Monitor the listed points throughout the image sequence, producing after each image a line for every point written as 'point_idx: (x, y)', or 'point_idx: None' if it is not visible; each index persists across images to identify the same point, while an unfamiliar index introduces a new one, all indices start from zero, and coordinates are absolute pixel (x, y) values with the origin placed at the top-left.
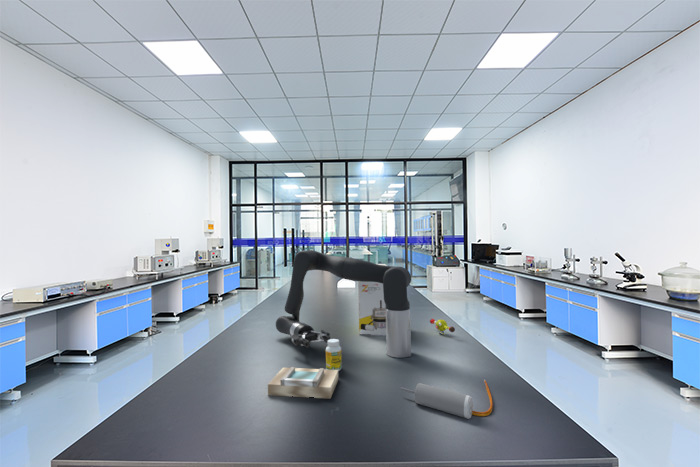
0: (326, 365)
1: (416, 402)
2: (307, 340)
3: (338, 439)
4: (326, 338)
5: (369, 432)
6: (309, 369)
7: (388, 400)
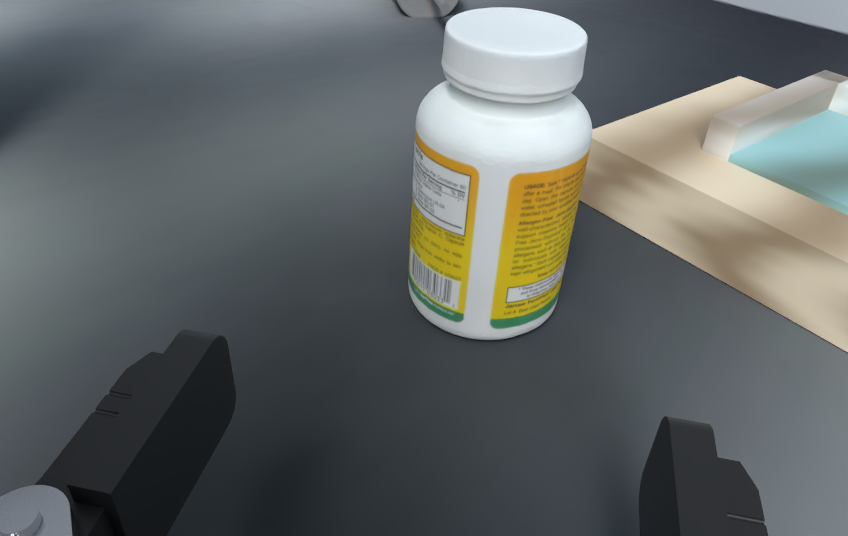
0: (562, 274)
1: (453, 7)
2: (682, 466)
3: (792, 45)
4: (189, 412)
5: (688, 27)
6: (793, 226)
7: None
